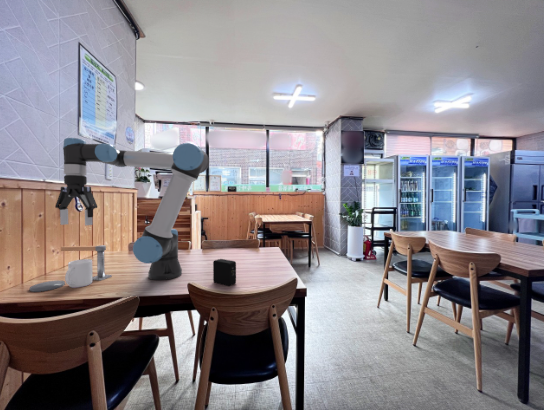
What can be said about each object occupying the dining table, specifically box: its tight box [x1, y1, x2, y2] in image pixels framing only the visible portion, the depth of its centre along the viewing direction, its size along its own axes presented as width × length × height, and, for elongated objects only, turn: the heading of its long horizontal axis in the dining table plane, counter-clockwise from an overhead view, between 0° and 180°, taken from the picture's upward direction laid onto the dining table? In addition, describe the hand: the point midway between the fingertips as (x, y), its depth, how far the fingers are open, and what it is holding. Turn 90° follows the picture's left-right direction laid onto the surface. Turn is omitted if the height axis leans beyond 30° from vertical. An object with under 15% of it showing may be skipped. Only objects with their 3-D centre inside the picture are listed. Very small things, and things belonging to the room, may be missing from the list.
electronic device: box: [212, 258, 237, 287], centre depth 108 cm, size 4×10×10 cm, turn 58°
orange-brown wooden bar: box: [60, 245, 107, 252], centre depth 114 cm, size 4×19×2 cm, turn 94°
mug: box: [64, 258, 93, 289], centre depth 104 cm, size 12×8×10 cm
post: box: [92, 250, 113, 281], centre depth 115 cm, size 6×6×13 cm
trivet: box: [29, 280, 66, 293], centre depth 103 cm, size 11×11×1 cm
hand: (76, 224), depth 104 cm, fingers open, 13 cm apart
